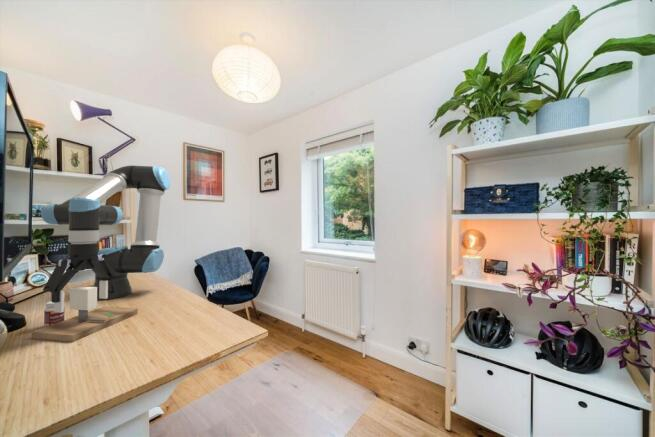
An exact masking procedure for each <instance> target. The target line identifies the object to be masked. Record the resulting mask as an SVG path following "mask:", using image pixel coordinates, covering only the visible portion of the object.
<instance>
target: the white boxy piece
mask: <svg viewBox="0 0 655 437" xmlns="http://www.w3.org/2000/svg"><path fill="white" fill-rule="evenodd" d="M95 308H96V309H97V308H98V300H97V287H93V286H84V285H81V286H80V285H79V286H74V287H72V288H69V310H76V311H78V315H77V316H78V322H83V321H86V320H88V312H89V311H91V310H94V309H95ZM89 321H100V322H105V321H106V319H93V318H90V319H89Z"/></svg>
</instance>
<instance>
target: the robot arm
mask: <svg viewBox="0 0 655 437" xmlns="http://www.w3.org/2000/svg"><path fill="white" fill-rule="evenodd" d="M170 187H171V178H170V174H169V172H168V171H167V170H166V169H165V168H164V167H161V166H155V165H153V166H152V165H151V166H148V165H125V166H122V167H121V166H120V167H118V168H116V169H113V170H110V171H109V172H107V173H106V174H104V175H103V177H102V179H100V180H98V181H97V182H96V183H93V184H92V185H91V186H89V187H87V188H85V189H83V191H80V192H78V193H77V194H75V195H74V196H72V197H71V198H68V199H67V200H65V201H64V202H62V203H59V204H58V203H55V204H54V203H53V204H50V203H49V204H47V205H45V206H44V207H42V209H41V212H40V216H41V218H42V220H43V222H44V223H46V224H48V225H58V226H62V225H63V226H64V225H66V226H67V225H68V243H69V244H68V246H67V254H68V256H69V257H68V259H59V258H58V259H57V260H56V265H55V268H54V270H53V271H52V273H51V275H50V277H49V278H48V280H47V282H46V283H45V285H44V287H43V289H42V291H43V292H50V293H51V294H50V295H51V300H50V301H52V303H54V312H59V313H62V312H64V307H65V291H64V290H63V289H64V288H65V287H66V286H67V285H68V283H69V282H70V280H71V279H72V278H73V277H74V276H75V275H76V274H77V273H79V272H82V271H86V270H91V271H92V272H93V273H94V282H93V285H92V287H97V301H102V300H103V301H104V300H106V301H107V300H111V299H112V300H113V299H118V298H121V297H125V296H128V295H130V294H131V293H132V286H131V285H130V281H129V278H128V274H137V273H138V274H140V273H142V274H147V273H154V272H156V271H158V270H159V269H160V268H161V266H162V264H163V261H164V259H165V254H164V249H162V248H160V244H159V243H158V242H157V237H158V226H159V220H160V219H159V216H160V207H161V206H160V205H161V197H162V196H163V195H165V191H167V190H169V189H170ZM127 189H136V192H137V193H138V194H139V203H138V210H137V219H136V220H137V221H136V230H135V238H134V242H132V243H131V244H130V248H129V247H128V245H120V246H112V247H105V248H100V244H99V241H100V226H112V225H117V224H119V223H121V221H122V220H123V218H124V212H123V211H122V210H121V208H119V207H117V206H114V205H103V204H102V203H104V202H105V201H107V200H108V199H110V198H111V197H112V196H113V195H115V194H117V193H119V192H123V191H125V190H127Z"/></svg>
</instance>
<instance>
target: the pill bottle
mask: <svg viewBox="0 0 655 437" xmlns="http://www.w3.org/2000/svg"><path fill="white" fill-rule="evenodd" d="M65 309H66V307H65V306H64V312H62V313H59V312H54V303H52V301H51V300H50V301H47V302H46V303H45V308H44V310H43V328H44V327H47V326H50V325H53V324H55V323H58V322H61V321H64V320H65Z"/></svg>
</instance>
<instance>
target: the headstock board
mask: <svg viewBox="0 0 655 437" xmlns="http://www.w3.org/2000/svg"><path fill="white" fill-rule="evenodd" d="M138 313H139V309H138V308H135V307H134V308H133V307H132V308H131V307H119V306H106V305H105V306H101V307H99V308H98V307H97V308H96V309H95V308H94V309H92V310H89V311H88V320H86V321H83V322H78V315H75V316H72V317H70V318H67V319H64V321H61V322H58V323H55V324H53V325H50V326H47V327H44V326H43V327H42V328H39V329H36V330H33V331H31V333H30V334H31V335H30V336H31V339H38V340H46V339H47V340H49V341H56V342H57V341H58V342H59V341H61V342H69V343H74V342H76V341H79V340H80V339H81V340H82V338H83V339H84V338H86V337H88V336H90V335H92V334H94V333H97V332H99V331H101V330H103V329H106V328H108V327H110V326H113V325H115V324H118V323H120V322H122V321H125V320H126V319H129V318H132V317H134V316H136V315H138ZM90 318H93V319H106V321H105V322H100V321H89V319H90ZM47 340H46V341H47Z"/></svg>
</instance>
